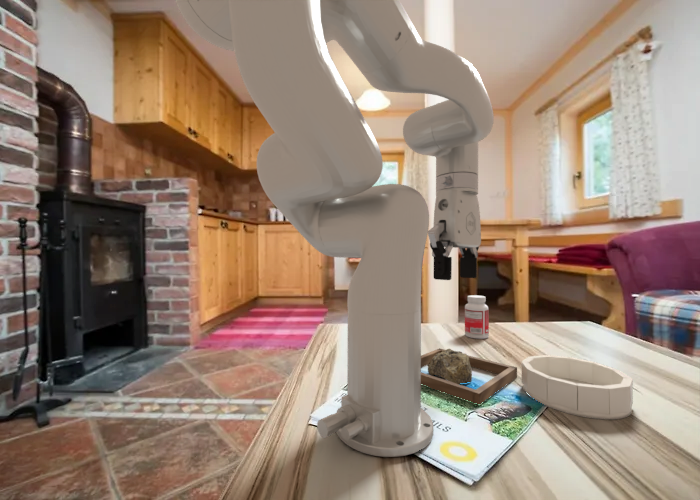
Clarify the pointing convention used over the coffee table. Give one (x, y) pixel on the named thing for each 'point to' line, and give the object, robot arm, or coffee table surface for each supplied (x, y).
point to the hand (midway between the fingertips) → (456, 278)
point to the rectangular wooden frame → (475, 396)
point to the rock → (451, 366)
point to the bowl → (578, 386)
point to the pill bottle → (476, 317)
